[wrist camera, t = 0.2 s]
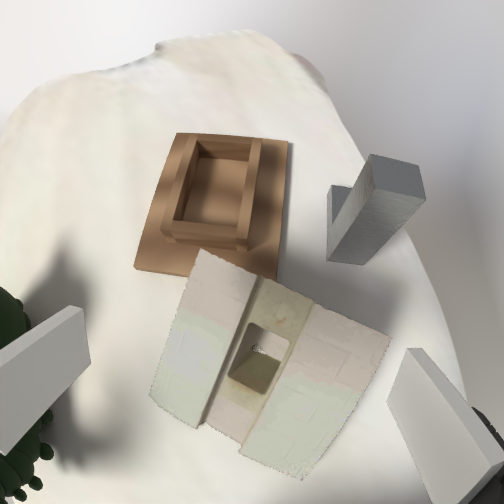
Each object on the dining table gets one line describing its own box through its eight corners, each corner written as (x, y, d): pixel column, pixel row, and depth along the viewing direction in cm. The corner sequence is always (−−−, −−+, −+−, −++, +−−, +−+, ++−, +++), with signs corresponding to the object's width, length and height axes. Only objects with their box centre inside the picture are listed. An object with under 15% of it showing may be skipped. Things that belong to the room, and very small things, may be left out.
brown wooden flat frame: (274, 288, 28) (278, 276, 24) (136, 269, 28) (122, 255, 25) (287, 146, 35) (290, 124, 31) (178, 138, 35) (172, 115, 31)
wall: (327, 423, 27) (400, 309, 21) (304, 484, 19) (406, 368, 14) (196, 357, 32) (227, 234, 27) (147, 398, 24) (164, 256, 19)
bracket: (362, 265, 29) (426, 199, 17) (326, 260, 29) (374, 188, 17) (360, 200, 32) (405, 120, 20) (327, 194, 32) (362, 109, 20)
